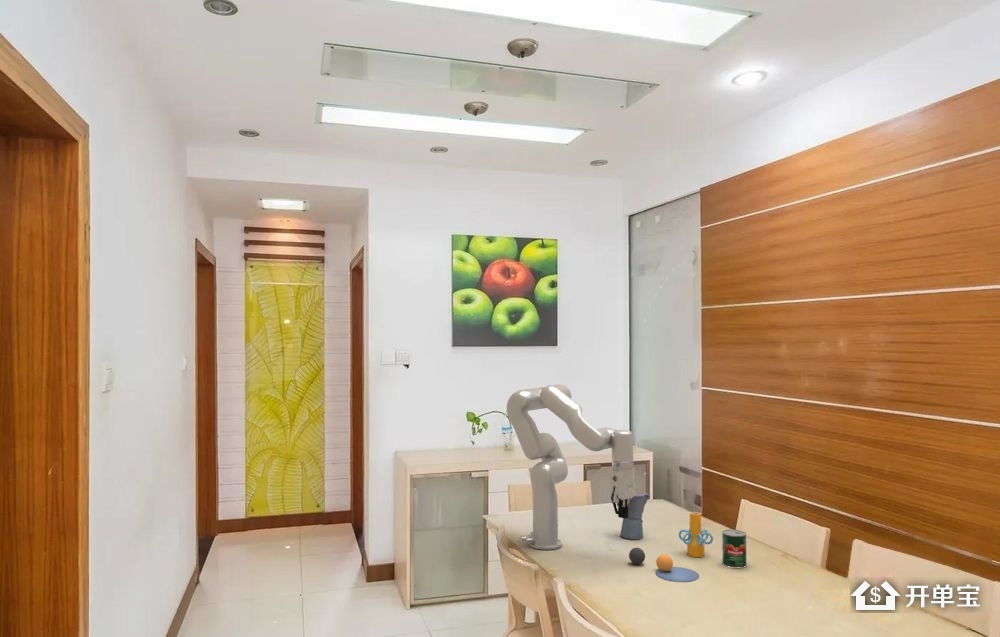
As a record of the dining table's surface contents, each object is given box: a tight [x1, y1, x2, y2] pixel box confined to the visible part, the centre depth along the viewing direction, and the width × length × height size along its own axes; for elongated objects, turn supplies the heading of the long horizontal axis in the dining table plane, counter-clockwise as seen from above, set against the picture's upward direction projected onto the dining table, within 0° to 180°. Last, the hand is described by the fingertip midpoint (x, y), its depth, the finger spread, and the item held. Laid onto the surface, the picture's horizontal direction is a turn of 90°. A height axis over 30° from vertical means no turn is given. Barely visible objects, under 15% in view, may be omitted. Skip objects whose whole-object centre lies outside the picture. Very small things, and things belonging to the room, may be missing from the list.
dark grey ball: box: [628, 547, 646, 565], centre depth 235 cm, size 6×6×6 cm
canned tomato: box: [721, 529, 747, 568], centre depth 234 cm, size 8×8×11 cm
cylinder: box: [678, 511, 714, 558], centre depth 245 cm, size 12×10×15 cm
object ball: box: [655, 553, 674, 572], centre depth 227 cm, size 6×6×6 cm
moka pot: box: [610, 490, 651, 540], centre depth 267 cm, size 10×15×20 cm, turn 89°
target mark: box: [655, 566, 700, 583], centre depth 224 cm, size 14×14×1 cm
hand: (623, 517), depth 239 cm, fingers closed
